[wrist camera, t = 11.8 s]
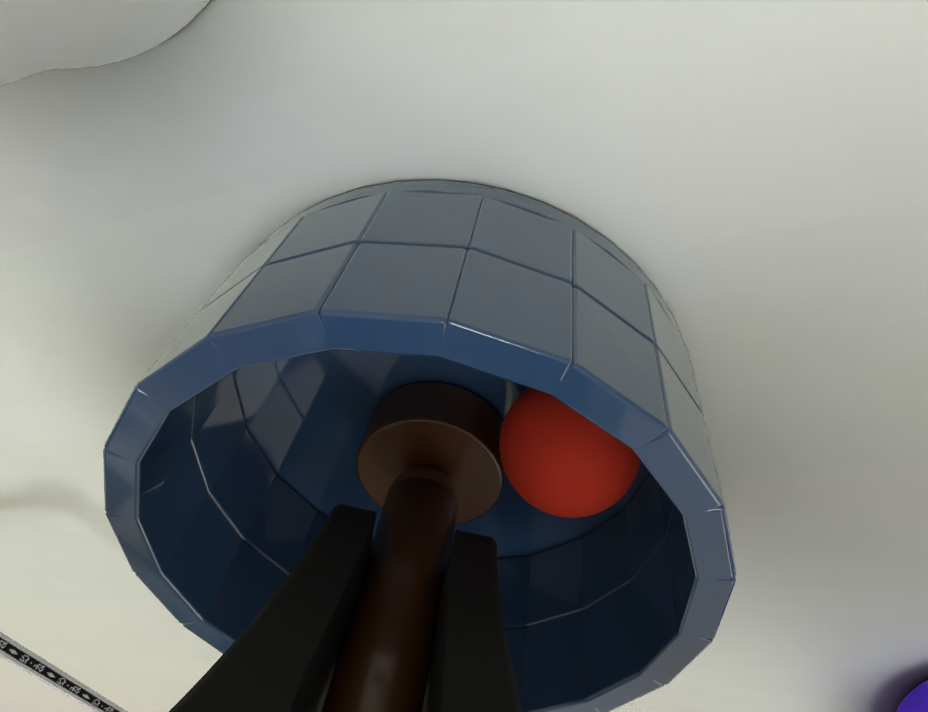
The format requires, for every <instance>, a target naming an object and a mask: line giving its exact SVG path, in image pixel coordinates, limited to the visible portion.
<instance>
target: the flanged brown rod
mask: <svg viewBox="0 0 928 712" xmlns="http://www.w3.org/2000/svg"><path fill="white" fill-rule="evenodd" d="M502 425H503V422H502V420H501V419H500V417H499V415H498V414H497V413H496V412H495V410H494V409H493V408H492V407H491V406H490V405H489V404H488V403H487V402H485V401H484V400H483V399H481V398H480V397H478V396H477V395H475V394H473V393H472V392H469V391H467V390H465V389H463V388H460V387H457V386H453V385H449V384H444V383H436V382H424V383H415V384H411V385H407V386H404V387H401V388H399V389H397V390H394V391H393V392H391V393H390V394H388V395H387V396H385V397H384V398H383V399H382V400H381V401H380V402H379V403H378V404H377V406H376V407H375V409H374V411H373V413H372V415H371V418H370V420H369V423H368V426H367V428H366V431H365V434H364V436H363V439H362V442H361V444H360V447H359V450H358V453H357V460H356V464H357V472H358V476H359V479H360V481H361V483H362V485H363V487H364V488H365V490H366V491H367V493H368V494H369V495H370V496H371V497H372V498H373V499H374V500H375V501H376V502H377V503H378V504H379V505H381V506H382V507H383V509H382V512H381V516H380V519H379V522H378V525H377V529H376V532H375V535H374V539H373V542H372V546H371V553H370V557H369V560H368V563H367V567H366V570H365V573H364V577H363V580H362V583H361V587H360V590H359V593H358V597H357V600H356V603H355V607H354V609H353V612H352V615H351V618H350V620H349V623H348V626H347V629H346V632H345V635H344V638H343V642H342V645H341V648H340V652H339V655H338V658H337V662H336V665H335V668H334V671H333V675H332V678H331V681H330V685H329V688H328V691H327V695H326V698H325V701H324V705H323V708H322V711H321V712H422V708H423V703H424V697H425V692H426V686H427V681H428V675H429V670H430V664H431V658H432V651H433V643H434V634H435V625H436V619H437V614H438V608H439V603H440V598H441V592H442V587H443V581H444V576H445V571H446V567H447V563H448V559H449V555H450V551H451V547H452V542H453V537H454V531H455V526H456V524H461V523H465V522H468V521H471V520H474V519H476V518H478V517H480V516H482V515H483V514H485V513H486V512H487V511H488V510H490V509H491V508H492V507H493V505H494V504H495V503H496V502H497V500H498V499H499V497H500V495H501V492H502V489H503V484H504V475H505V471H504V468H503V465H502V462H501V457H500V447H499V442H500V433H501V428H502Z"/></svg>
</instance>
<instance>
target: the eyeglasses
mask: <svg viewBox="0 0 928 712" xmlns="http://www.w3.org/2000/svg"><path fill="white" fill-rule="evenodd" d="M0 657H2V658H4V659H6V660H7V661H9V662H11V663H12V664H14V665H16V666H18V667H19V668H21V669H23V670H24V671H26V672H28V673H30V674H31V675H33V676H35V677H36V678H38V679H40V680H42V681H43V682H45V683H47V684H48V685H50V686H52V687H53V688H55V689H57V690H59V691H60V692H62V693H64V694H65V695H67V696H69V697H71V698H72V699H74V700H76V701H77V702H79V703H81V704H83V705H84V706H86V707H88V708H89V709H91V710H93V711H95V712H127V711H126V710H124V709H122V708H121V707H119V706H118V705H116V704H115V703H113V702H111V701H110V700H108V699H107V698H105V697H103V696H102V695H100V694H99V693H97V692H95V691H94V690H92V689H91V688H89V687H87V686H86V685H84V684H83V683H81V682H79V681H78V680H76V679H75V678H73V677H71V676H70V675H68V674H67V673H65V672H63V671H62V670H60V669H59V668H57V667H56V666H54V665H52V664H51V663H49V662H48V661H46V660H44V659H43V658H41V657H40V656H38V655H36V654H35V653H33V652H32V651H30V650H28V649H27V648H25V647H24V646H22V645H20V644H19V643H17V642H16V641H14V640H12V639H11V638H9V637H8V636H6V635H4V634H3V633H1V632H0Z"/></svg>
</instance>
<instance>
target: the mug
mask: <svg viewBox="0 0 928 712" xmlns="http://www.w3.org/2000/svg"><path fill="white" fill-rule="evenodd" d="M209 1H210V0H0V86H2V85H5V84H8V83H11V82H13V81H16V80H19V79H22V78H25V77H28V76H31V75H34V74H37V73H40V72H43V71H46V70H49V69H72V68H86V67H94V66H101V65H106V64H110V63H114V62H118V61H122V60H125V59H128V58H131V57H134V56H136V55H138V54H141V53H143V52H145V51H148V50H150V49H152V48H153V47H155V46H157V45H159V44H161V43H162V42H164V41H165V40H167V39H169V38H170V37H171V36H173V35H174V34H176V33H177V32H178V31H179V30H181V29H182V28H183V27H184V26H186V25H187V24H188V23H189V22H190V21H191V20H192V19H193V18H194V17H195V16H196V15H197V14H198V13H199V12H200V11H201V10H202V9H203V8H204V7H205V6H206V4H207V3H208V2H209Z"/></svg>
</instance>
